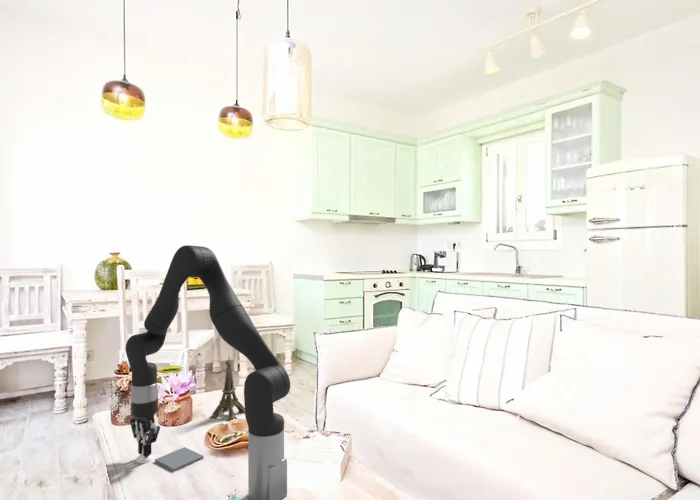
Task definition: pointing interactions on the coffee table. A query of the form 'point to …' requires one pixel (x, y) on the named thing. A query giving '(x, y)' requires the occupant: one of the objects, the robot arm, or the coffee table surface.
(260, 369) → the robot arm
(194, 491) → the coffee table surface
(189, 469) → the coffee table surface
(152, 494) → the coffee table surface
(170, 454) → the slate tile
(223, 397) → the eiffel tower
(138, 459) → the chess piece
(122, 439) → the coffee table surface
